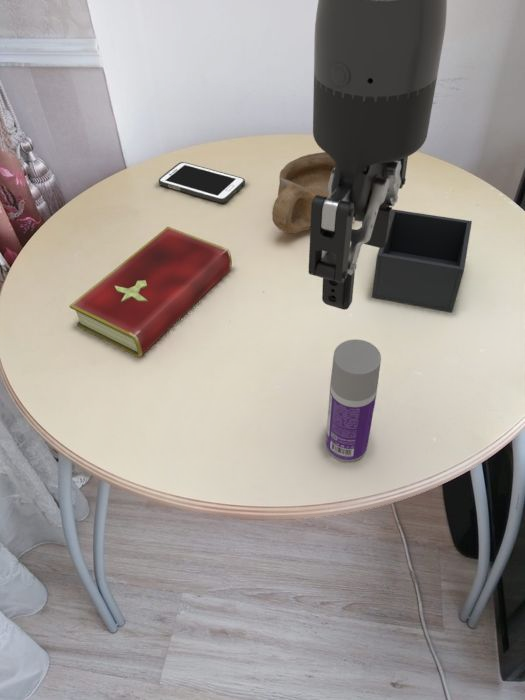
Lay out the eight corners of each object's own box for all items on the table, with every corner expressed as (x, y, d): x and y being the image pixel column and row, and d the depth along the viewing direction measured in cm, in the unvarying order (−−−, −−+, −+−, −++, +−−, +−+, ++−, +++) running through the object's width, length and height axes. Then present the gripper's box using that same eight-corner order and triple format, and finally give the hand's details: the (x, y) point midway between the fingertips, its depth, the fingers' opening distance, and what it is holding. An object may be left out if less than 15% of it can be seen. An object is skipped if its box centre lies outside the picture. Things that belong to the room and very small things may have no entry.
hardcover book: (232, 270, 86) (230, 248, 83) (141, 358, 74) (135, 336, 71) (171, 246, 91) (167, 224, 87) (77, 326, 79) (68, 304, 76)
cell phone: (224, 204, 98) (223, 200, 97) (157, 185, 103) (156, 180, 102) (247, 183, 102) (246, 178, 102) (181, 165, 108) (180, 160, 107)
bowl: (344, 254, 85) (330, 195, 79) (264, 255, 92) (245, 201, 86) (378, 193, 96) (368, 137, 89) (304, 198, 103) (290, 146, 96)
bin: (460, 263, 85) (471, 220, 79) (452, 312, 78) (464, 269, 72) (386, 251, 88) (392, 209, 82) (371, 297, 80) (377, 254, 75)
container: (375, 451, 63) (392, 362, 52) (340, 469, 62) (350, 382, 51) (351, 421, 66) (363, 331, 55) (318, 438, 65) (322, 349, 54)
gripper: (399, 125, 29) (370, 343, 41) (465, 33, 37) (425, 235, 49) (268, 103, 31) (277, 314, 43) (358, 21, 40) (345, 216, 52)
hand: (356, 272), depth 46 cm, fingers open, 8 cm apart
